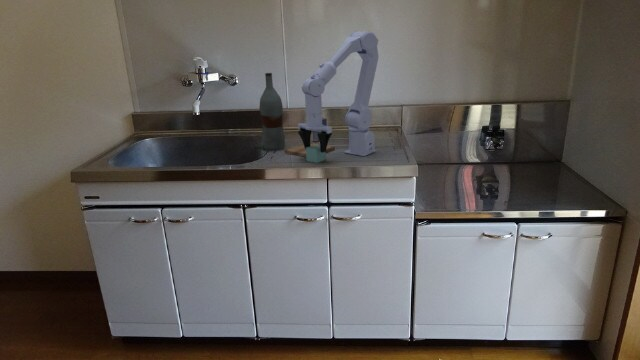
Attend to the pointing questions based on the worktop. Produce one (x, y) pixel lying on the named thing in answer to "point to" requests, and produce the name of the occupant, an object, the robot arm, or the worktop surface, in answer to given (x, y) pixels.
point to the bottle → (271, 117)
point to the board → (304, 150)
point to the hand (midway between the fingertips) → (315, 150)
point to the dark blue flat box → (315, 133)
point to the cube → (315, 154)
